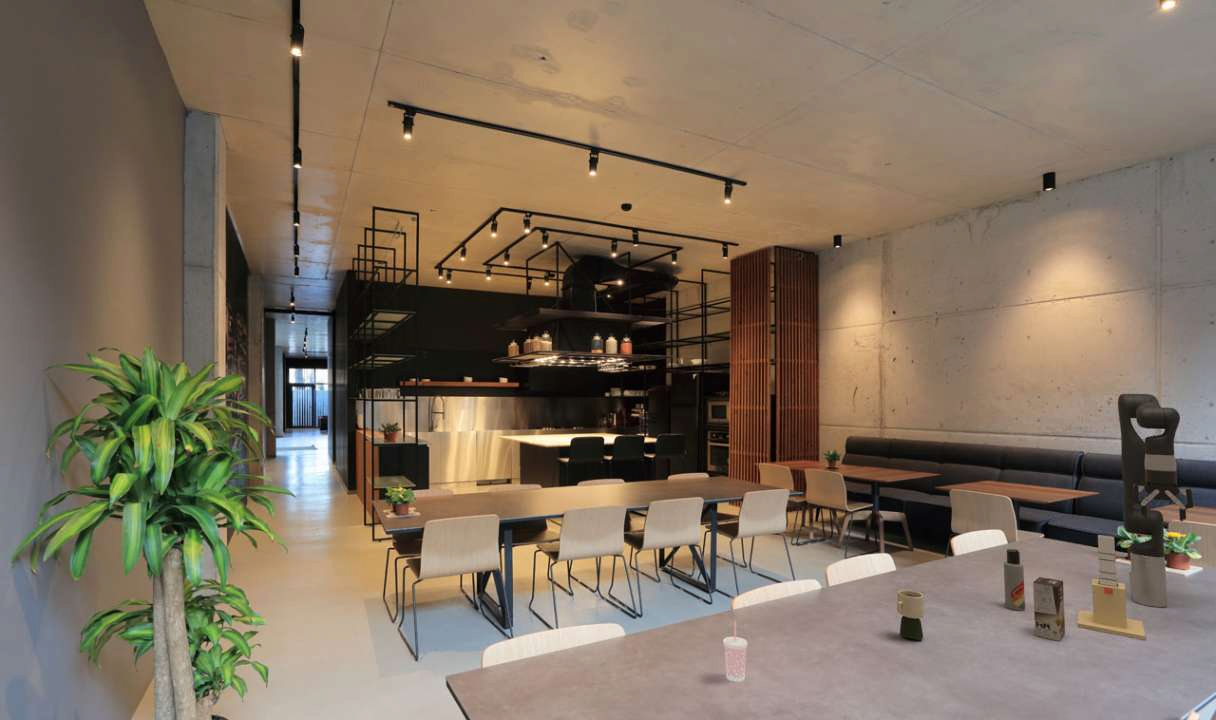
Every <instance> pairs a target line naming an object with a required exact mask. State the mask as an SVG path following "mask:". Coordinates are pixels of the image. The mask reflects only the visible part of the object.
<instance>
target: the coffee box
mask: <svg viewBox="0 0 1216 720" xmlns="http://www.w3.org/2000/svg"><path fill="white" fill-rule="evenodd" d="M1032 583H1033V585H1032V586H1033V588H1032V589H1033V612H1034V614H1033V615H1034V617H1033V618H1034V635H1035V636H1037V637H1040V638H1046V639H1049V640H1053V641H1057V642H1060V641H1061V640H1062V638H1063V637H1064V636H1065V635H1066V620H1065V599H1064V598H1065V596H1064V595H1065V593H1064V592H1065V591H1064V580H1059V579H1054V578H1049V577H1042V576H1039V577H1038V578H1037V579H1035V580H1034V581H1032Z"/></svg>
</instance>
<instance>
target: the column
mask: <svg viewBox="0 0 1216 720" xmlns="http://www.w3.org/2000/svg"><path fill="white" fill-rule="evenodd" d="M1097 545H1098V548H1097V549H1098V552H1097V553H1098V563H1099V567H1098V570H1099V571H1098V572H1099V580H1100V585H1107V586H1113V587H1117V583H1118V582H1117V580H1118V579H1117V570H1116V569H1117V568H1116V549H1115V548H1116V546H1115V537H1114V536H1111V535H1101V534H1098V535H1097Z"/></svg>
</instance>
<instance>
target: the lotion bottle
mask: <svg viewBox="0 0 1216 720" xmlns="http://www.w3.org/2000/svg"><path fill="white" fill-rule="evenodd" d="M1020 554H1021V552H1020V551H1019V549H1016V548H1013V549H1012V548H1008V549H1006V561H1004V562H1003V577H1004V581H1003V582H1004V583H1003V585H1004V598H1005V599H1004V605H1005V608H1007V609H1009V610H1013V611H1017V612H1018V611H1019V612H1022V611H1025V610H1026V599H1025V597H1026V596H1025V593H1026V592H1025V573H1024V570H1025V569H1024V567H1025V566H1024V565H1023V564H1022V563H1021V555H1020Z"/></svg>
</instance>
